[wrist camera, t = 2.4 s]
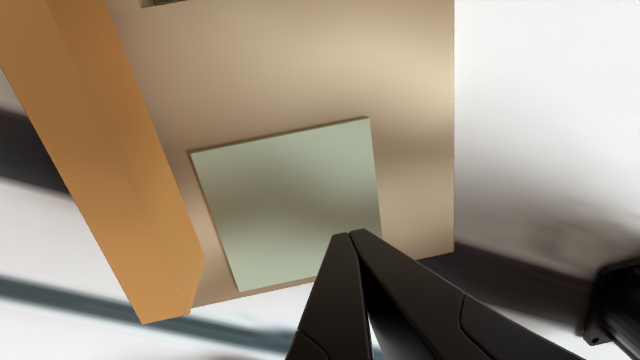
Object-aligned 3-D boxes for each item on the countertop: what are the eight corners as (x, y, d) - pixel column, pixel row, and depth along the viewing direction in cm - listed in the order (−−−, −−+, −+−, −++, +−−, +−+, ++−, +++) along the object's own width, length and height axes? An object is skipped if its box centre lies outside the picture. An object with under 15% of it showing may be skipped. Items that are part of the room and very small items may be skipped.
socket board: (439, 233, 18) (455, 254, 16) (179, 289, 17) (168, 316, 16) (425, -470, 9) (459, -586, 7) (-133, -394, 8) (-235, -501, 6)
